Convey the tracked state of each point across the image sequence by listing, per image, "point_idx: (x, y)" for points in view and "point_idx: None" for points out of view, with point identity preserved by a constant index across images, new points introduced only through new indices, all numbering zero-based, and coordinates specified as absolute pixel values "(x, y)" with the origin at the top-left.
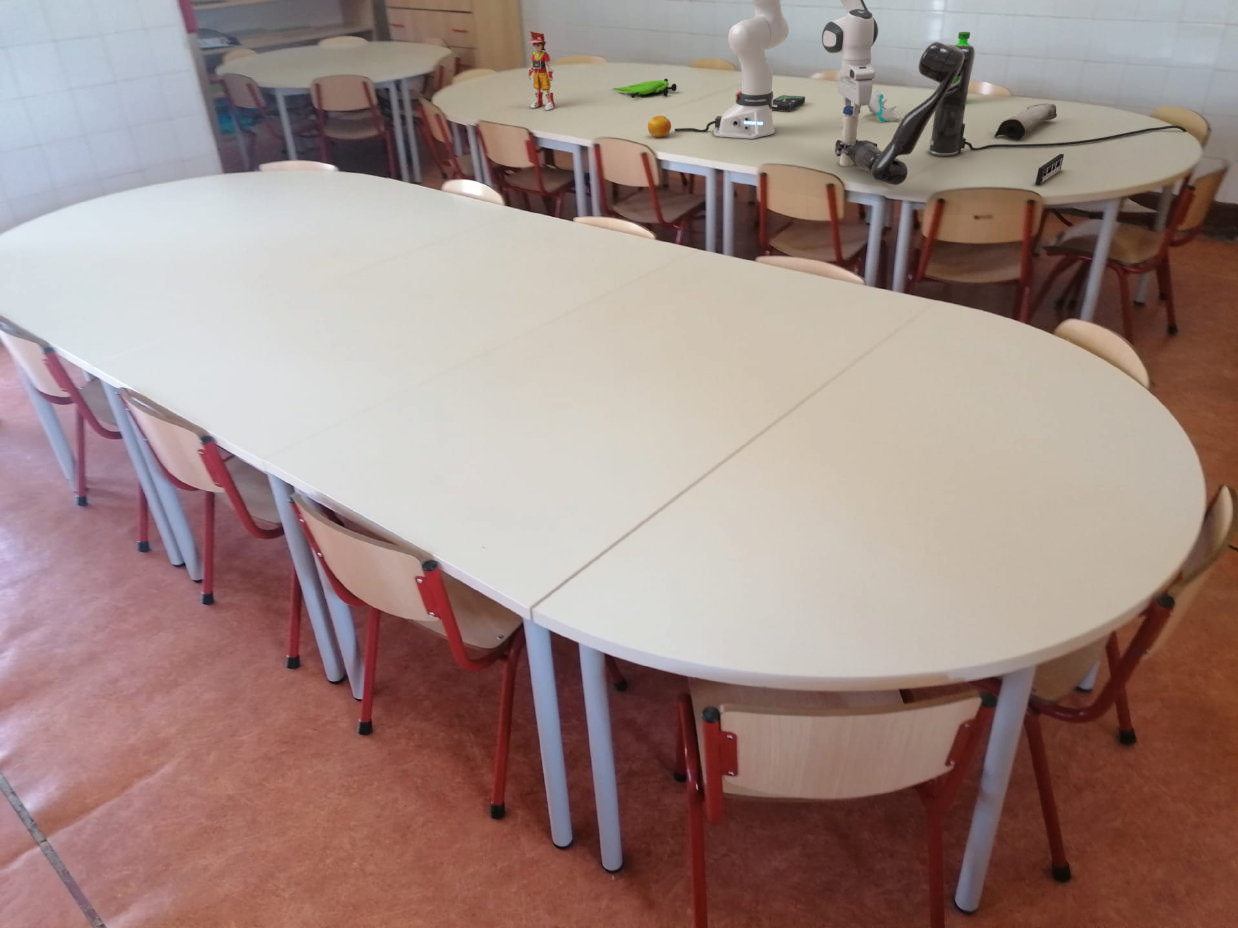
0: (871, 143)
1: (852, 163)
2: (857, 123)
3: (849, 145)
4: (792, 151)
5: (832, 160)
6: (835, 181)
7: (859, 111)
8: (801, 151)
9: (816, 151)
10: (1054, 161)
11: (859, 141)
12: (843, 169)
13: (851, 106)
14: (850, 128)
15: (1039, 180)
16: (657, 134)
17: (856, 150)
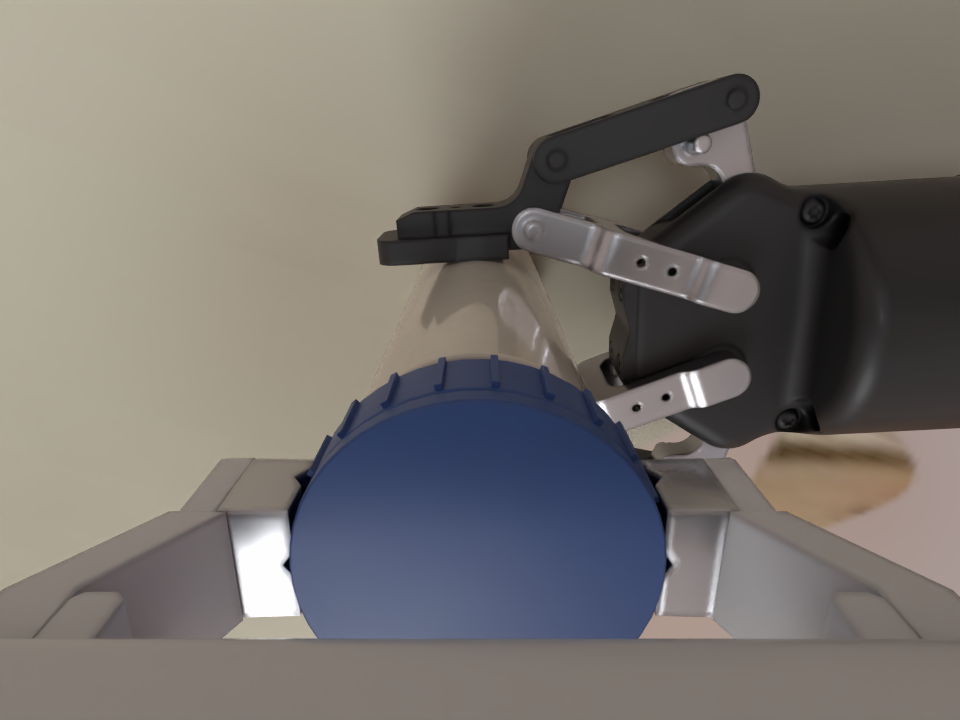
0: (688, 137)
1: (530, 256)
2: (556, 346)
3: (680, 406)
4: (63, 540)
5: (348, 351)
6: (828, 482)
7: (598, 417)
8: (69, 487)
9: (81, 389)
10: None
11: (878, 387)
12: (597, 348)
13: (335, 544)
14: None
15: None
16: None
17: (941, 428)
